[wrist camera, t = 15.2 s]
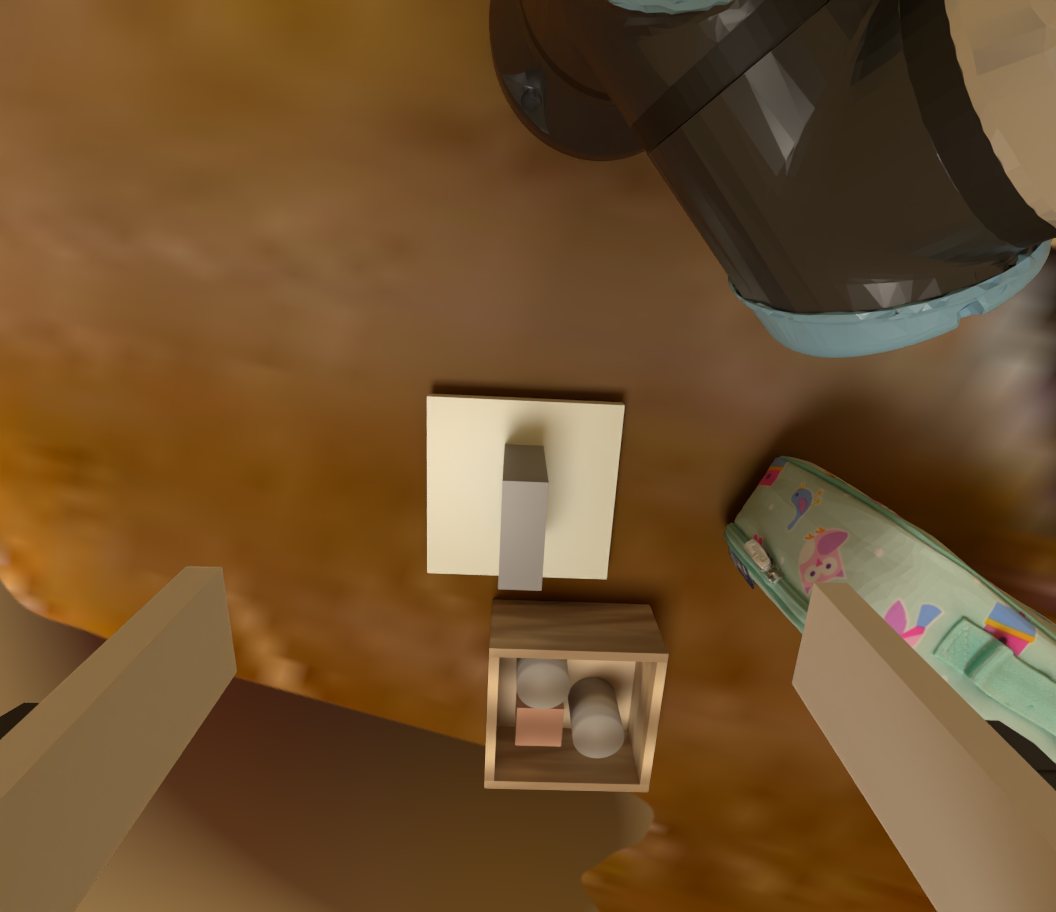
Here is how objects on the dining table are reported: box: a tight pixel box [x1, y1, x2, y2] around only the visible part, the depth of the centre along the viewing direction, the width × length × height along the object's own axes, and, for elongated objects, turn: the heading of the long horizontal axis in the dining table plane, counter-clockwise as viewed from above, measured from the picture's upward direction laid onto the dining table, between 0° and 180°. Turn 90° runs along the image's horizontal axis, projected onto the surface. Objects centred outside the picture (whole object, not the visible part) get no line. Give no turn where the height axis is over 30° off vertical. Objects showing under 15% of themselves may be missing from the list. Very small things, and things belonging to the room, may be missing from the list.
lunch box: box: [724, 456, 1056, 763], centre depth 42 cm, size 27×10×21 cm, turn 56°
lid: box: [427, 393, 625, 591], centre depth 45 cm, size 15×15×10 cm
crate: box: [484, 599, 669, 792], centre depth 52 cm, size 14×14×7 cm
